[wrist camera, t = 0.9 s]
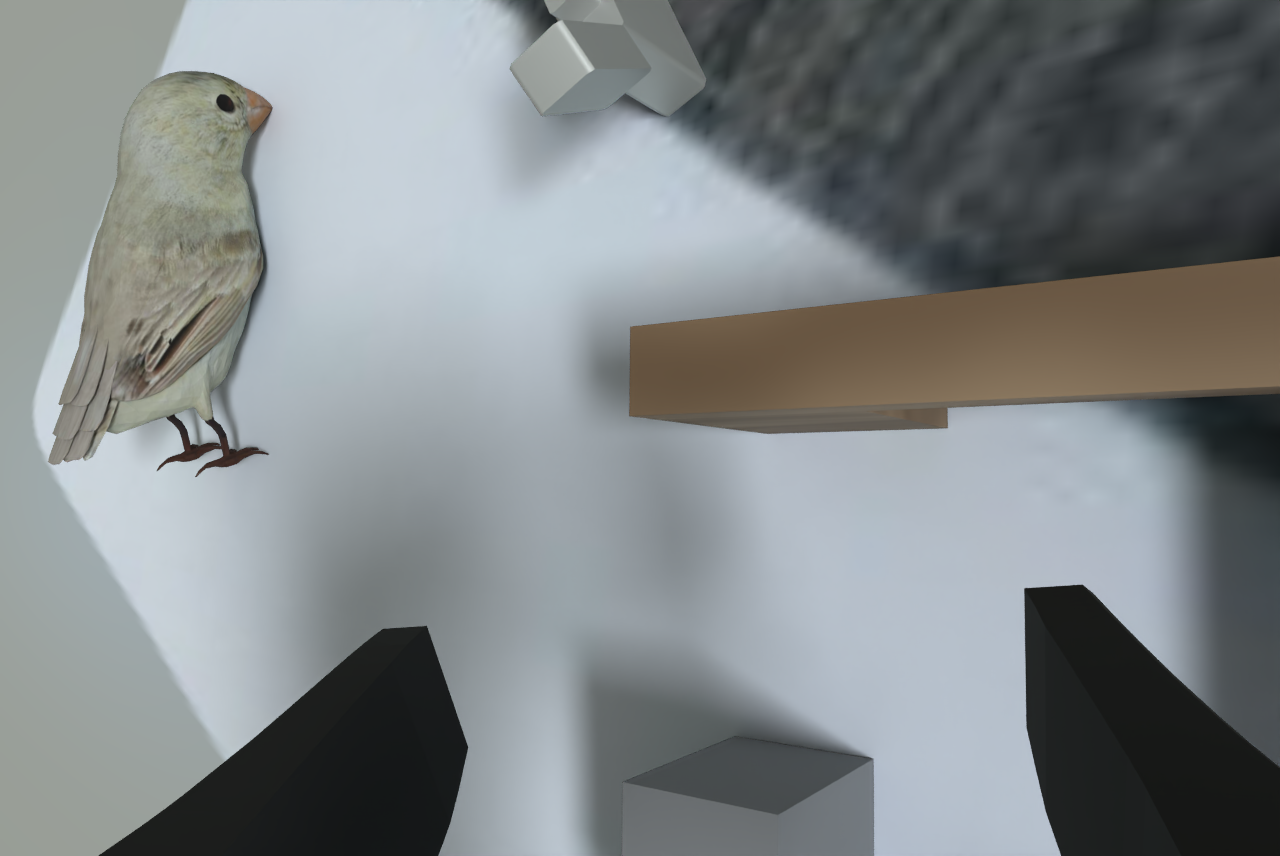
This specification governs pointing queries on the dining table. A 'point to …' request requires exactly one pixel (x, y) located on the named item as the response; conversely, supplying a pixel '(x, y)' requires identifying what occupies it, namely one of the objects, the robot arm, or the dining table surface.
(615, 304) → the dining table surface
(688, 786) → the block
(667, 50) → the lighter
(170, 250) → the decorative bird
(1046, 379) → the wooden plank
